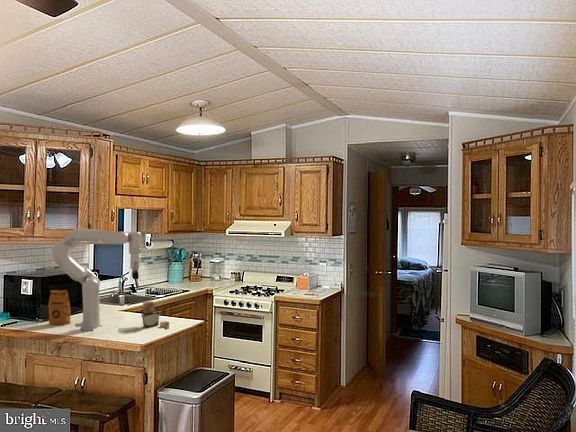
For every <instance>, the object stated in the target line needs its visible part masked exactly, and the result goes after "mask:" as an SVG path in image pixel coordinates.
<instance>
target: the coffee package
mask: <svg viewBox="0 0 576 432" xmlns="http://www.w3.org/2000/svg"><path fill="white" fill-rule="evenodd" d="M49 293H50V296H49V300H48V324H49V325H54V324H55V326H57V325H59V326H63V325H65V326H66V325H69V324H71V303H70V298H69V294H68V293H69V292H68V290H67V289H65V290H58V289H56V290H50V292H49ZM56 324H57V325H56Z"/></svg>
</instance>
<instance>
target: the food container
mask: <svg viewBox="0 0 576 432" xmlns="http://www.w3.org/2000/svg"><path fill="white" fill-rule="evenodd" d="M160 315H161V312H160V311H159V310H154V313H144V312H143V311H142V313H141V318H142V324H143V326H142V327H143V329H148V328H153V327H158V326H159V324H160Z"/></svg>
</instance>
